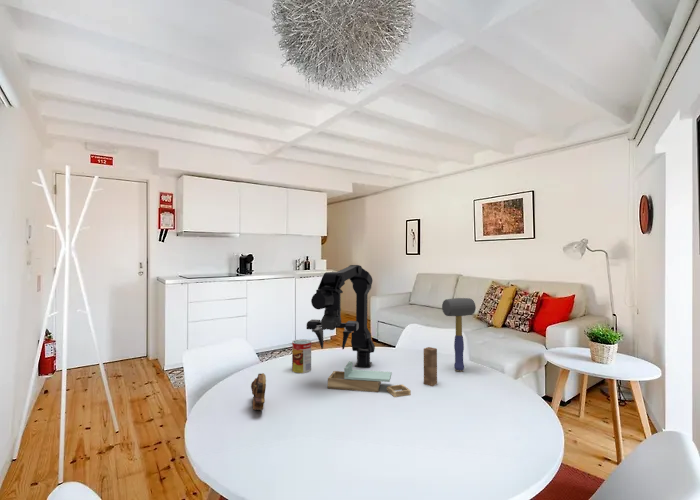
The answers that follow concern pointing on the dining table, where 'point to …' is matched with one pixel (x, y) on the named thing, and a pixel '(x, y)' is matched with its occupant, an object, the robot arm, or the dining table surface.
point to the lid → (366, 374)
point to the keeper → (398, 393)
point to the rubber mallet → (458, 324)
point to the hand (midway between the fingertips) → (332, 348)
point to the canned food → (301, 356)
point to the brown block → (430, 366)
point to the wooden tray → (351, 383)
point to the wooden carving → (259, 391)
